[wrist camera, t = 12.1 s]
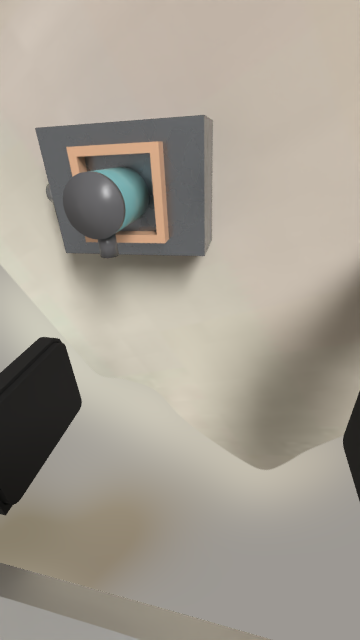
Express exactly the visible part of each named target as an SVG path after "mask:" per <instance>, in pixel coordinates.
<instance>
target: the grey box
mask: <svg viewBox="0 0 360 640" xmlns="http://www.w3.org/2000/svg"><path fill="white" fill-rule="evenodd" d="M35 129H36V133H37V137H38V141H39V145H40V150H41V154H42V158H43V162H44V166H45V170H46V174H47V178H48V182H49V184H48V185H47V187H46V194H47V197H48V199H49V200H50V201H51V202H53V203H54V206H55V210H56V214H57V218H58V222H59V226H60V230H61V234H62V238H63V242H64V246H65V250H66V253H93V254H100V250H99V245H98V239H91V238H88V237H86V236H84V235H82V234H81V233H80V232H78V231H77V230H76V229H75V228H74V227H73V226H72V224H71V223H70V221H69V220H68V218H67V216H66V213H65V210H64V206H63V192H64V189H65V186H66V184H67V182H68V181H69V180H70V179H71V178H72V177H73V176H74V175H76V174H78V173H81V172H88V171H95V170H102V169H109V168H116V167H127V168H130V169H133V170H134V171H136V172H137V173H138V174H139V175H140V176H141V177H142V178H143V179H144V181H145V183H146V185H147V188H148V192H149V203H148V207H147V209H146V211H145V213H144V214H143V215H142V216H141V217H140V218H139V219H137V220H135V221H134V222H132V223H131V224H129V225H128V226H126V227H124V228H123V229H121V230H120V231H118V232H117V233H115V234H116V240H117V246H118V252H119V254H137V255H182V256H205V254H206V252H207V250H208V247H209V245H210V243H211V240H212V134H213V120H211V119H210V118H208V117H207V116H205V115H198V116H185V117H172V118H159V119H146V120H133V121H120V122H107V123H94V124H81V125H68V126H55V127H42V128H35Z"/></svg>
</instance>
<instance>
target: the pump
mask: <svg viewBox="0 0 360 640" xmlns="http://www.w3.org/2000/svg"><path fill="white" fill-rule="evenodd" d="M148 203H149V192H148V188H147V185H146V183H145V181H144V179H143V178H142V177H141V176H140V175H139V174H138V173H137V172H136V171H134V170H133V169H130V168H127V167H116V168H109V169H102V170H95V171H88V172H81V173H78V174H76V175H74V176H73V177H72V178H71V179H70V180H69V181H68V182H67V184H66V186H65V189H64V192H63V206H64V210H65V213H66V216H67V218H68V220H69V221H70V223H71V224H72V226H73V227H74V228H75V229H76V230H77V231H78V232H80V233H81V234H82V235H84V236H86V237H88V238H91V239H98V245H99V250H100V255H101V257H102V258H112V257H116V256H118V255H119V252H118V246H117V240H116V234H115V233H117V232H118V231H120V230H121V229H123V228H124V227H126V226H128V225H129V224H131V223H132V222H134V221H135V220H137V219H139V218H140V217H141V216H142V215H143V214H144V213H145V211H146V209H147V207H148Z"/></svg>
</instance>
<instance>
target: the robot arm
mask: <svg viewBox="0 0 360 640" xmlns="http://www.w3.org/2000/svg"><path fill="white" fill-rule="evenodd" d="M81 403H82V402H81V397H80V393H79V390H78V386H77V383H76V380H75V376H74V373H73V370H72V366H71V363H70V360H69V356H68V353H67V350H66V346H65V345H64V344H63V343H62V342H61V341H60V339H57V338H48V337H41V338H39V339H38V340H37V341H35V342H34V343H33V344H32V345H31V346H30V347H29V348H28V349H27V350H25V351H24V352H23V353H22V354H21V355H20V356H19V357H18V358H16V360H14V361H13V362H12V363H11V364H10V365H9V366H8V367H6V368H5V369H4V370H3V371H2V372H1V373H0V514H3V515H6V514H7V513H8V511H9V510H10V508H11V507H12V505H14V504H16V503H17V502H19V500H20V499H21V498H22V496H23V495H24V493H25V492H26V490H27V489H28V487H29V485H30V484H31V483H32V481H33V479H34V478H35V477H36V475H37V473H38V472H39V470H40V469H41V467H42V466H43V464H44V463H45V461H46V460H47V458H48V457H49V455H50V454H51V452H52V451H53V449H54V448H55V446H56V445H57V443H58V442H59V440H60V438H61V437H62V436H63V434H64V432H65V431H66V430H67V428H68V426H69V425H70V423H71V422H72V420H73V419H74V417H75V416H76V414H77V413H78V411H79V410H80V407H81ZM343 446H344V450H345V454H346V457H347V460H348V464H349V467H350V471H351V474H352V477H353V481H354V484H355V487H356V491H357V494H358V497H359V501H360V392H359V395H358V397H357V400H356V403H355V406H354V408H353V411H352V414H351V417H350V420H349V422H348V425H347V428H346V431H345V434H344V437H343ZM0 640H271V639H268V638H264V637H261V636H257V635H254V634H250V633H247V632H243V631H240V630H236V629H232V628H229V627H226V626H222V625H219V624H215V623H212V622H209V621H205V620H201V619H198V618H194V617H191V616H188V615H184V614H180V613H177V612H174V611H170V610H166V609H163V608H159V607H156V606H152V605H149V604H145V603H142V602H138V601H135V600H131V599H128V598H124V597H120V596H117V595H114V594H110V593H106V592H103V591H99V590H95V589H92V588H89V587H85V586H82V585H78V584H74V583H70V582H67V581H64V580H60V579H57V578H53V577H50V576H46V575H42V574H38V573H35V572H32V571H28V570H24V569H21V568H17V567H13V566H10V565H6V564H3V563H0Z"/></svg>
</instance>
